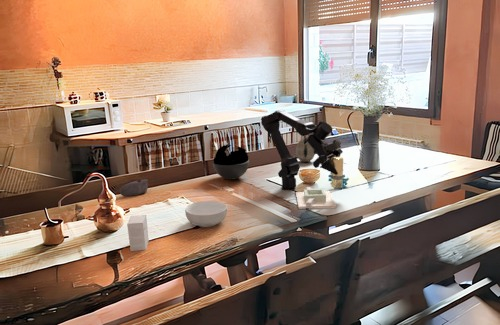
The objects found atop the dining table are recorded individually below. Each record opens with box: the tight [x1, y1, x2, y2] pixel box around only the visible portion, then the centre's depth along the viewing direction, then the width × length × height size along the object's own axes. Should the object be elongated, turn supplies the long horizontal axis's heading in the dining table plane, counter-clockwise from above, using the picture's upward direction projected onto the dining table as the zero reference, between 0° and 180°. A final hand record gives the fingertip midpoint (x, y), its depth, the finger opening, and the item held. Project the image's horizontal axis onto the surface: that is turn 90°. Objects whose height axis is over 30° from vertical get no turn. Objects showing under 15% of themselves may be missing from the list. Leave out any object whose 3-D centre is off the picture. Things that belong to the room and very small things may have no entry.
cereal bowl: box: [184, 200, 228, 228], centre depth 175 cm, size 17×17×7 cm
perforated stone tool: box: [119, 178, 149, 197], centre depth 217 cm, size 15×5×7 cm, turn 117°
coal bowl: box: [212, 144, 250, 180], centre depth 235 cm, size 20×20×19 cm
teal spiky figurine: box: [328, 172, 350, 190], centre depth 216 cm, size 11×6×10 cm
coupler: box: [330, 156, 344, 189], centre depth 194 cm, size 6×6×13 cm
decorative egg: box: [295, 137, 316, 163], centre depth 265 cm, size 12×12×15 cm
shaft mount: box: [295, 186, 337, 210], centre depth 196 cm, size 16×23×4 cm
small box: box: [126, 214, 150, 252], centre depth 156 cm, size 8×6×10 cm
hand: (339, 172), depth 193 cm, fingers closed on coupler, 5 cm apart
